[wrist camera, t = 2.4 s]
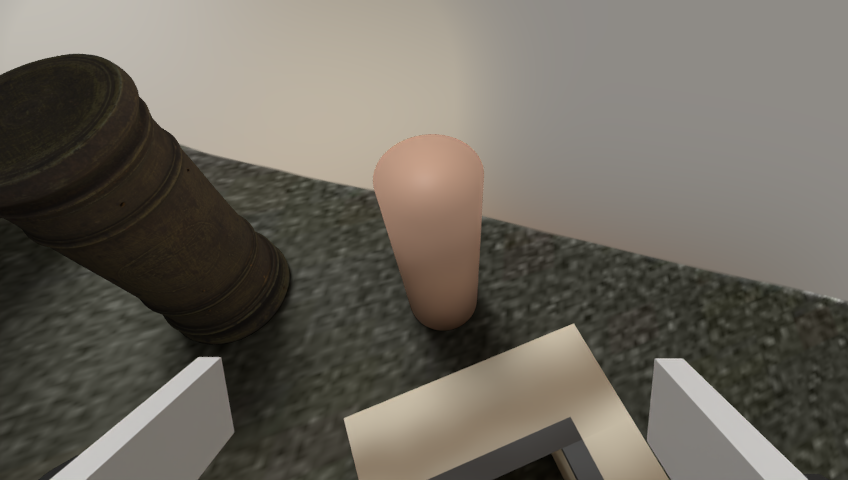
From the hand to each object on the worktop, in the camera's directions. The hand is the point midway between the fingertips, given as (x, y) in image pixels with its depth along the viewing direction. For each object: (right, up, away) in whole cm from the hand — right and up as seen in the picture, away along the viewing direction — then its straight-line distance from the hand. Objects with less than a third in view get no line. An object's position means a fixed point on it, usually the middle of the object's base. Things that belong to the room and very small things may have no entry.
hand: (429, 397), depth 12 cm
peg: (+1, 0, +18) cm, 18 cm away
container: (-15, +1, +20) cm, 25 cm away
